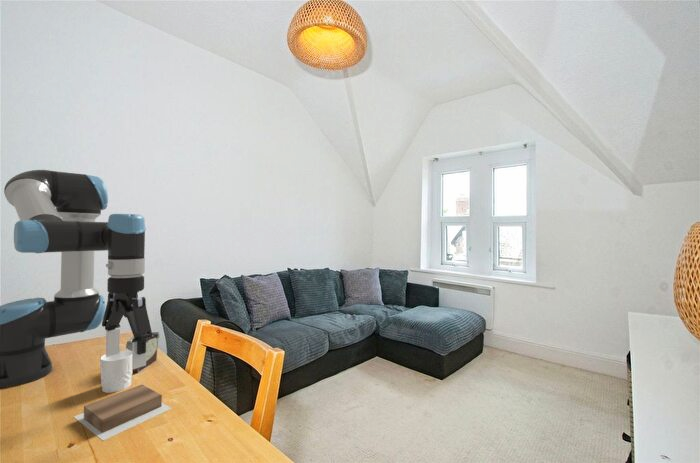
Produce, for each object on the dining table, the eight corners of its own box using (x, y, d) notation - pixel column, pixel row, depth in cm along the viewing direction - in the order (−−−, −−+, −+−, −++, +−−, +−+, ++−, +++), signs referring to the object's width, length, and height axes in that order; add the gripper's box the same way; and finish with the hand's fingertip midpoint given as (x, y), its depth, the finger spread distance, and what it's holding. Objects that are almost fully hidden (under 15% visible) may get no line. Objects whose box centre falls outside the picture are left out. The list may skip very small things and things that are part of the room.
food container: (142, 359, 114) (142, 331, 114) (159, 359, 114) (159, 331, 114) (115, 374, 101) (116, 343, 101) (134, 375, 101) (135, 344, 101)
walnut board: (83, 418, 77) (83, 406, 77) (141, 395, 88) (142, 384, 88) (102, 433, 72) (102, 419, 72) (161, 406, 83) (161, 394, 83)
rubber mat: (73, 419, 78) (73, 416, 78) (140, 393, 90) (140, 390, 90) (102, 444, 69) (103, 440, 69) (171, 411, 82) (171, 408, 82)
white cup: (115, 398, 88) (116, 362, 88) (92, 394, 89) (92, 359, 89) (139, 384, 95) (140, 351, 95) (117, 381, 97) (118, 348, 97)
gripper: (86, 273, 83) (85, 354, 83) (134, 282, 70) (133, 378, 70) (119, 270, 89) (118, 346, 89) (169, 278, 76) (168, 366, 76)
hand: (125, 360), depth 80 cm, fingers open, 13 cm apart
